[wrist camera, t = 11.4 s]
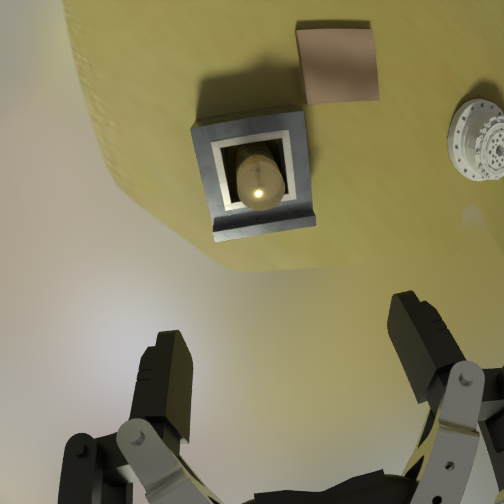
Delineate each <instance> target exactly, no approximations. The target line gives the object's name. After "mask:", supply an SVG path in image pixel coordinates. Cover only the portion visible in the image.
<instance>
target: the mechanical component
mask: <svg viewBox="0 0 504 504" xmlns="http://www.w3.org/2000/svg"><path fill="white" fill-rule="evenodd" d="M448 151H449V155H450V159H451V161H452V163H453V165H454V167H455V168H456V169H457V170H458V171H459V172H460V174H462V175H463V176H465V177H467V178H469V179H470V180H473V181H483V180H486V179H489V180H495V179H496V180H499V178H501V177H502V176H504V114H503V112H502V110H501V109H500V108H499V107H498V106H497V105H496V104H494V103H492V102H490V101H487V100H484V99H481V98H480V99H471V100H469V101H467V102H465V103H463V105H462V106H461V107H460V108H459V109H458V110H457V111H456V113H455V115H454V117H453V119H452V121H451V124H450V127H449V134H448Z"/></svg>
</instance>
